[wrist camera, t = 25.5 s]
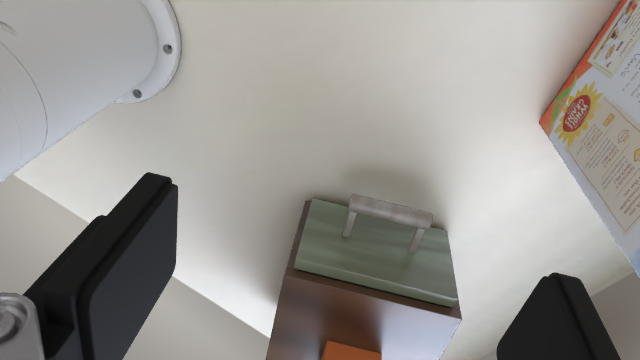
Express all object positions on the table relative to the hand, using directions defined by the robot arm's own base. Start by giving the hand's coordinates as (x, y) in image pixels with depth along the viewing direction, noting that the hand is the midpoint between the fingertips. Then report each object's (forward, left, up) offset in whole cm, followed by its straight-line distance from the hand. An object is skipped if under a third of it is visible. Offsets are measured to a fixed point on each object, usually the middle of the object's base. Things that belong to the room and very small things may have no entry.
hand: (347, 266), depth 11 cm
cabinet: (+5, -27, -28) cm, 39 cm away
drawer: (+5, -23, -27) cm, 36 cm away
